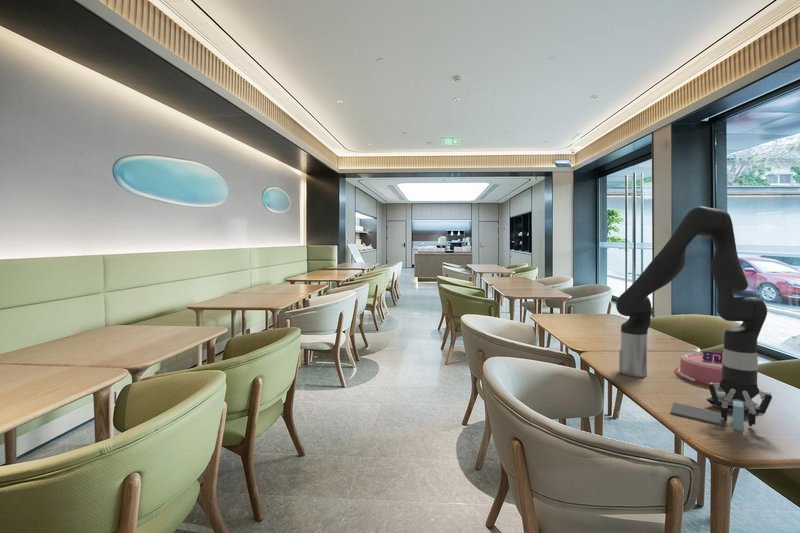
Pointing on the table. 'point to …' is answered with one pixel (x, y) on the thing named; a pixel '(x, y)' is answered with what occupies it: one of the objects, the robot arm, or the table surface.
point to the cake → (701, 367)
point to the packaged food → (731, 402)
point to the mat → (698, 414)
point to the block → (738, 415)
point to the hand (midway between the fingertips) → (737, 422)
